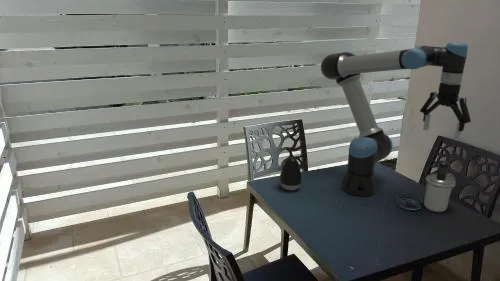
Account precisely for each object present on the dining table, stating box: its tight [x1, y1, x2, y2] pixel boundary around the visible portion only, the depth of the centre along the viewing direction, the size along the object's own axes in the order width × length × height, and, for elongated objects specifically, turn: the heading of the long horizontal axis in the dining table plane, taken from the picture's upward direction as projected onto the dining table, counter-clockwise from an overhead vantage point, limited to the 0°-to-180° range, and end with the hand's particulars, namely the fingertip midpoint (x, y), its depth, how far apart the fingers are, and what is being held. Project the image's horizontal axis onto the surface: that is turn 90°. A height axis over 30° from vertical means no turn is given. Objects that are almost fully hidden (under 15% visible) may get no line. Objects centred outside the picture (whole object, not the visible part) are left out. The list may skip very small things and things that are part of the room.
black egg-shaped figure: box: [279, 155, 303, 191], centre depth 173 cm, size 10×10×15 cm
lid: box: [425, 159, 457, 189], centre depth 155 cm, size 11×11×9 cm
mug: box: [423, 182, 453, 213], centre depth 158 cm, size 12×9×11 cm
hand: (440, 133), depth 157 cm, fingers open, 13 cm apart
